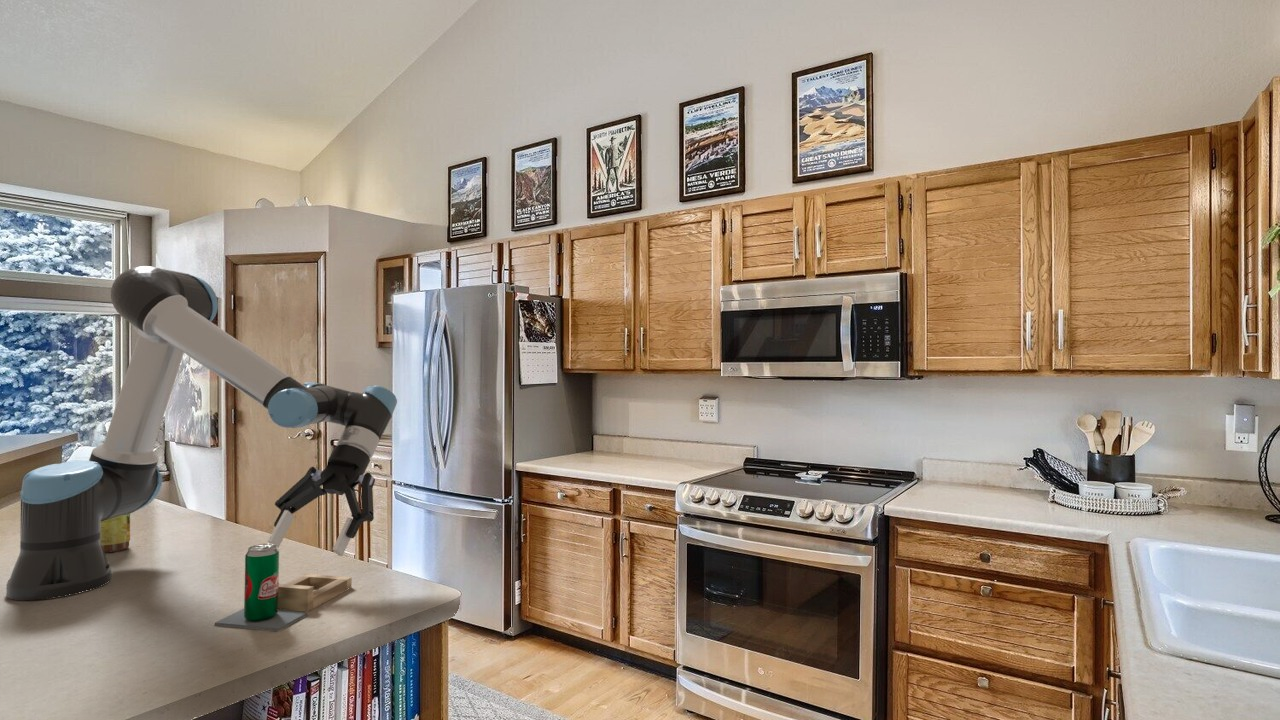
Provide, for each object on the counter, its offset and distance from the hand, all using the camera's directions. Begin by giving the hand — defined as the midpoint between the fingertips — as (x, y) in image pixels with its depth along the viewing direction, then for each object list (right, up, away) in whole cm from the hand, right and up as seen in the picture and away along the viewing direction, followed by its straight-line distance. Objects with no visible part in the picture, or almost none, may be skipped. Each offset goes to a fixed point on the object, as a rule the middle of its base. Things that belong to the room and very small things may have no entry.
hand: (304, 548), depth 124 cm
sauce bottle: (-59, -8, +28) cm, 65 cm away
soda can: (-2, -9, -12) cm, 14 cm away
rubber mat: (-1, -9, -12) cm, 15 cm away
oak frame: (+1, -9, 0) cm, 9 cm away
